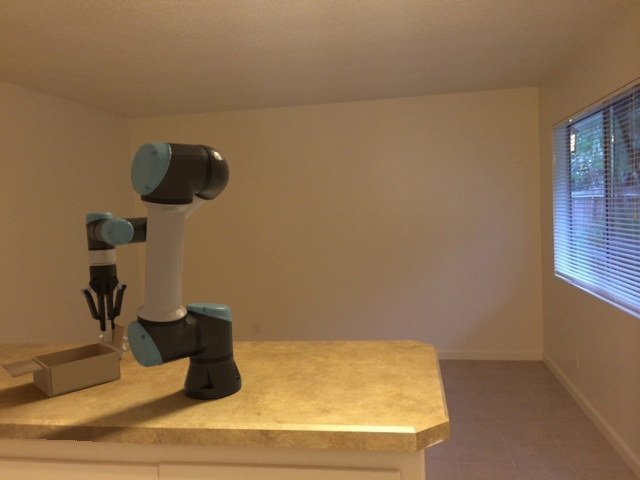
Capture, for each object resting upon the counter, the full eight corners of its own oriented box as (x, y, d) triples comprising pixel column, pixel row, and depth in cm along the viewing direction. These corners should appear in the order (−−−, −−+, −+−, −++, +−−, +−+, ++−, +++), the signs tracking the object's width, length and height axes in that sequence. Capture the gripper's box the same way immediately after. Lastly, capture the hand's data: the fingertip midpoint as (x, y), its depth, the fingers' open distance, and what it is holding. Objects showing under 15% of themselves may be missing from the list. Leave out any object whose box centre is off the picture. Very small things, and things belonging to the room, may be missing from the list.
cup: (138, 354, 170) (136, 331, 169) (126, 361, 162) (125, 337, 161) (108, 354, 171) (106, 332, 170) (95, 362, 163) (93, 338, 162)
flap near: (42, 367, 131) (13, 376, 127) (42, 369, 131) (13, 377, 127) (28, 357, 142) (1, 364, 137) (28, 358, 142) (1, 366, 137)
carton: (121, 379, 145) (119, 352, 144) (50, 398, 132) (48, 368, 131) (100, 366, 157) (98, 342, 157) (33, 383, 144) (30, 356, 144)
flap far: (120, 349, 146) (126, 326, 147) (119, 349, 145) (124, 326, 146) (102, 341, 156) (107, 320, 157) (101, 341, 156) (106, 319, 157)
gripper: (119, 261, 156) (124, 334, 157) (75, 265, 147) (81, 343, 148) (129, 262, 150) (134, 338, 152) (84, 266, 142) (90, 348, 143)
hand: (108, 340), depth 150 cm, fingers closed
